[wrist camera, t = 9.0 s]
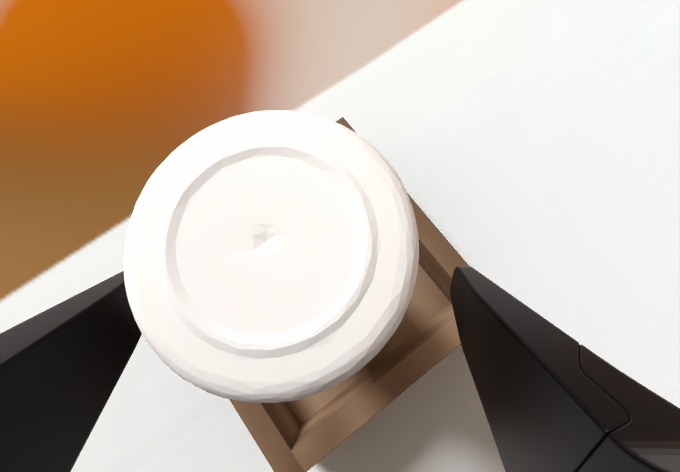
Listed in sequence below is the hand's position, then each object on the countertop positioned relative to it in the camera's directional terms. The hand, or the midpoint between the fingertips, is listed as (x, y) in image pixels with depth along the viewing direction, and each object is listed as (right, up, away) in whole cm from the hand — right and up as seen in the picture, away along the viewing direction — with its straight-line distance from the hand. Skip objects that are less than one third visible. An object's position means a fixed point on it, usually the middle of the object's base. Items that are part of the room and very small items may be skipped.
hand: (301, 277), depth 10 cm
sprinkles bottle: (0, -2, +8) cm, 9 cm away
